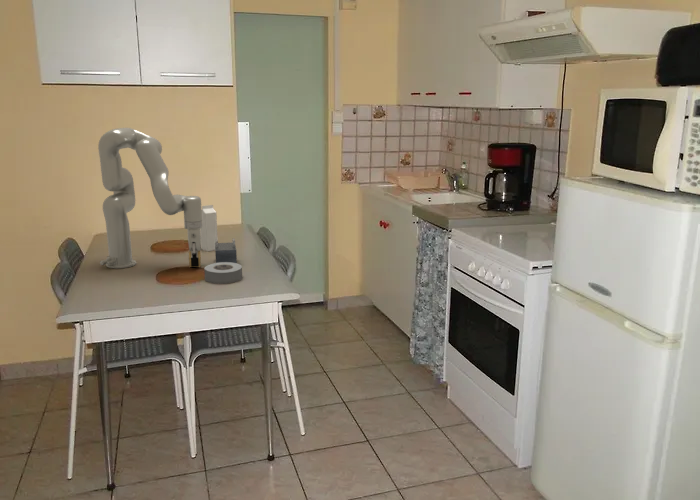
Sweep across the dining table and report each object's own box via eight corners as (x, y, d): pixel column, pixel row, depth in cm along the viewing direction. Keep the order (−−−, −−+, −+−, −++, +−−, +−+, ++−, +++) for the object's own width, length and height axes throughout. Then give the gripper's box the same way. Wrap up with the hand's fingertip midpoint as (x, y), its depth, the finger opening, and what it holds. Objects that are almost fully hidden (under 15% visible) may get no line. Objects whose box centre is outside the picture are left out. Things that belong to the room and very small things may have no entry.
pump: (195, 268, 262) (194, 251, 260) (186, 266, 265) (186, 249, 263) (203, 266, 267) (202, 249, 265) (194, 264, 269) (194, 247, 267)
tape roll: (247, 281, 247) (247, 269, 246) (211, 286, 239) (210, 274, 238) (235, 271, 260) (234, 260, 258) (200, 276, 252) (199, 264, 251)
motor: (236, 267, 266) (236, 243, 263) (216, 268, 264) (215, 243, 261) (235, 257, 282) (234, 234, 279) (215, 258, 280) (214, 235, 277)
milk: (218, 249, 296) (216, 205, 291) (207, 251, 292) (205, 207, 286) (211, 247, 300) (210, 203, 295) (200, 249, 296) (199, 205, 291)
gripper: (202, 228, 254) (203, 269, 258) (202, 220, 270) (203, 259, 274) (183, 228, 252) (185, 270, 257) (185, 220, 268) (186, 260, 273)
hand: (195, 264), depth 265 cm, fingers closed on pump, 5 cm apart
